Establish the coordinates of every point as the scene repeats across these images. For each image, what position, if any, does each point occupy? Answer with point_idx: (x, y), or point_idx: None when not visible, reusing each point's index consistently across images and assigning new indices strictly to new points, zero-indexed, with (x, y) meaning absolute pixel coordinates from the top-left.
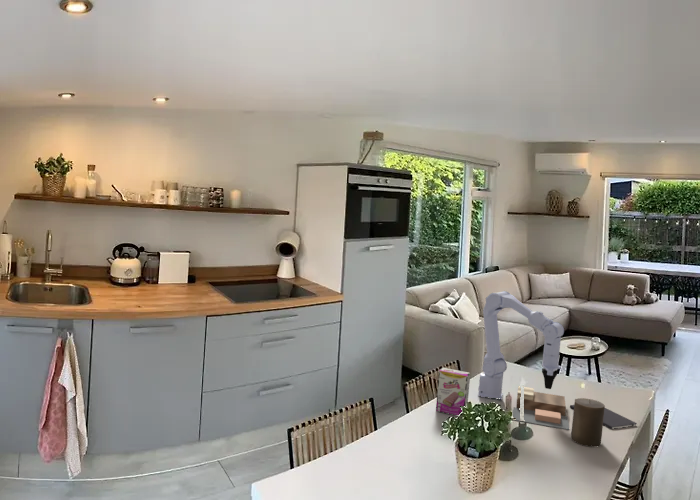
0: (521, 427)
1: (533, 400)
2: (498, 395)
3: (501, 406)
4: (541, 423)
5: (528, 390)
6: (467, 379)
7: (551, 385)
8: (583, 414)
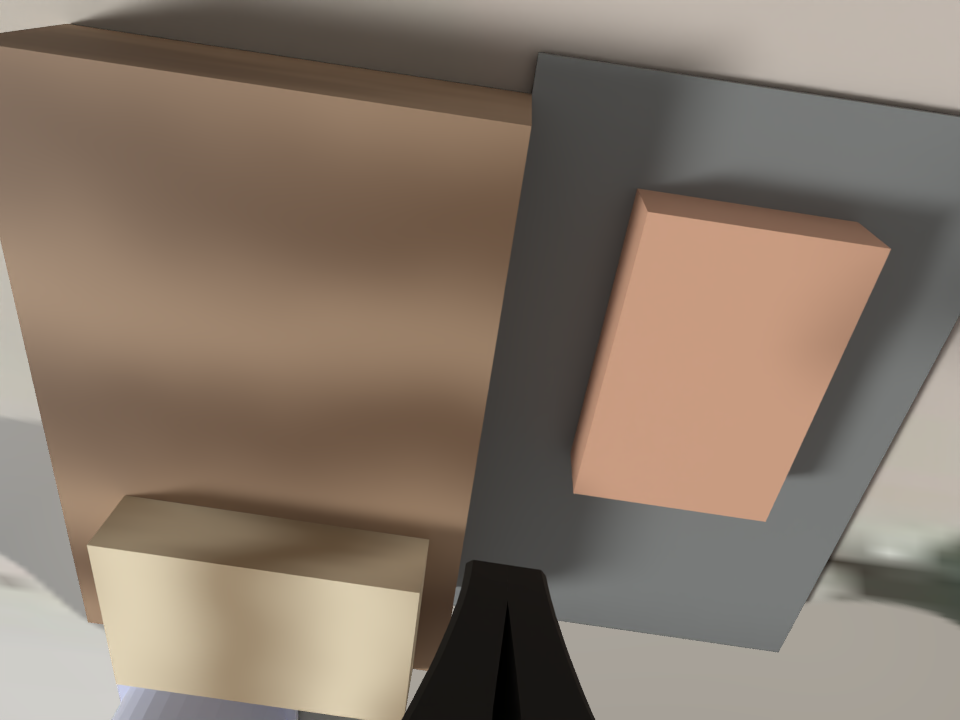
0: (952, 602)
1: (431, 535)
2: (254, 705)
3: None
4: (861, 435)
5: (232, 615)
6: None
7: (562, 645)
8: None
